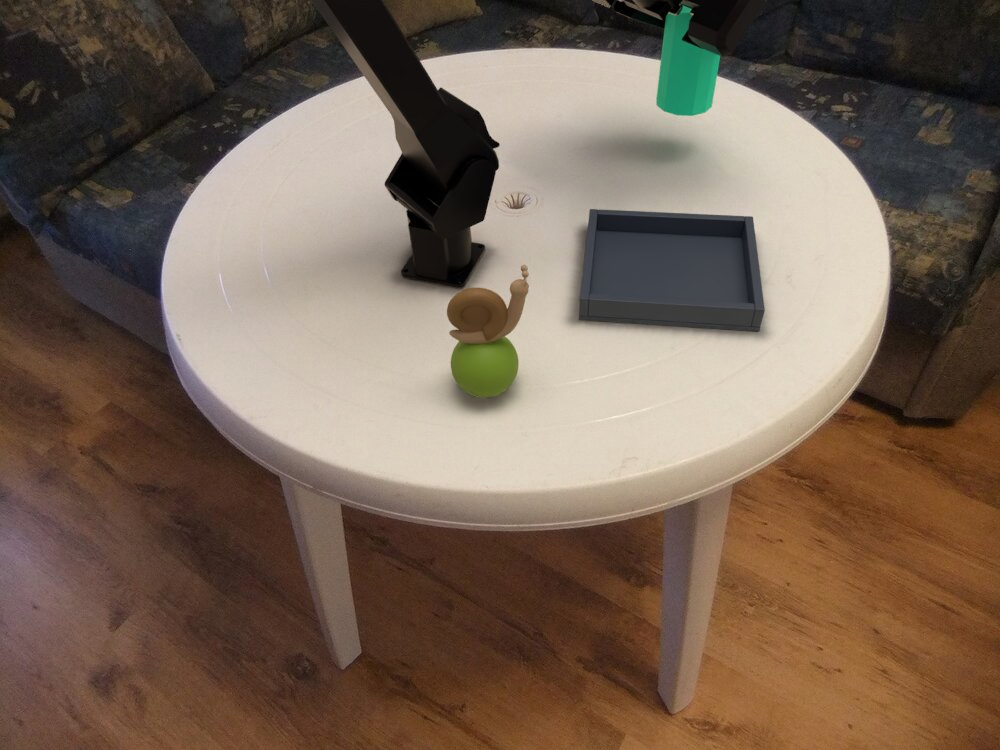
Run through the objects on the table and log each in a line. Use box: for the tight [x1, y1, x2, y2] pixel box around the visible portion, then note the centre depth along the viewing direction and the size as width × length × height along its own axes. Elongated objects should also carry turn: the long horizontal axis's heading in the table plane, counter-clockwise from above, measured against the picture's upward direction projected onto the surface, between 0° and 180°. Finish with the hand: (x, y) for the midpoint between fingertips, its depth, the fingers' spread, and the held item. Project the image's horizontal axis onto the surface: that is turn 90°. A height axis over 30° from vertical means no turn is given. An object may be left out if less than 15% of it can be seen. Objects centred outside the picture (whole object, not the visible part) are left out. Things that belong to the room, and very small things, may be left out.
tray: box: [578, 208, 766, 332], centre depth 73 cm, size 16×14×2 cm
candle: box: [655, 5, 721, 117], centre depth 81 cm, size 6×6×12 cm
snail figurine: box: [446, 264, 530, 398], centre depth 61 cm, size 5×6×12 cm
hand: (702, 37), depth 81 cm, fingers closed on candle, 5 cm apart
